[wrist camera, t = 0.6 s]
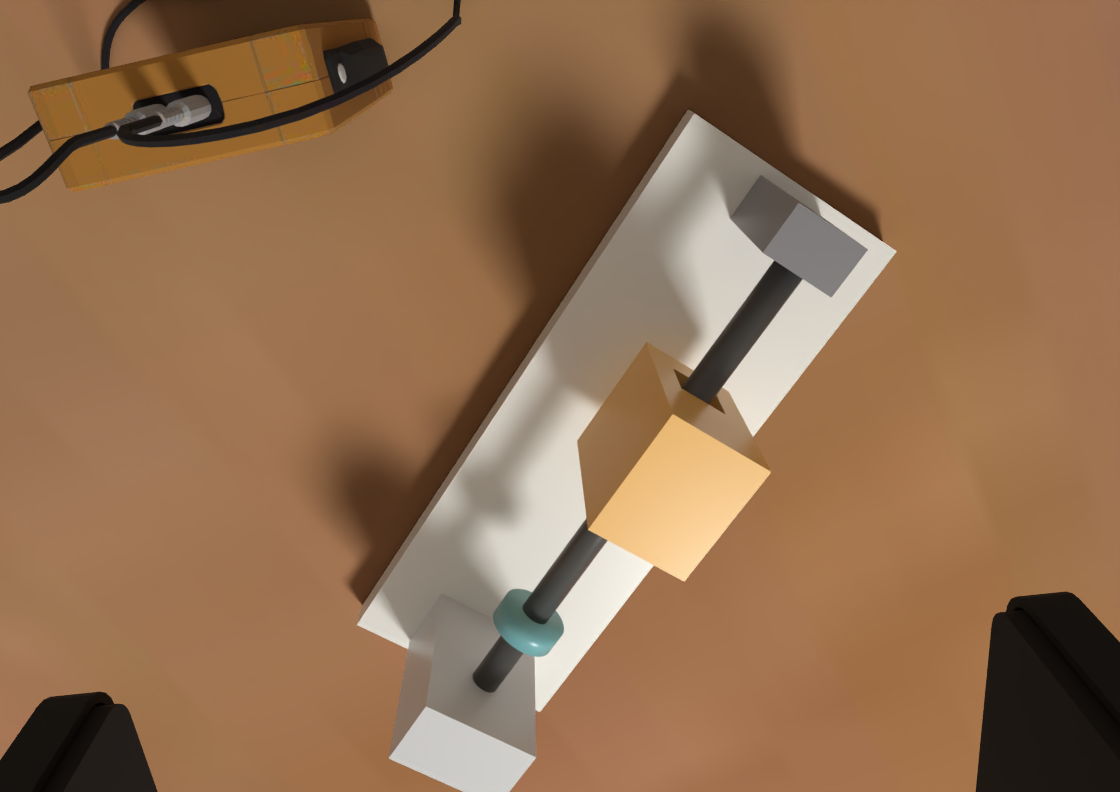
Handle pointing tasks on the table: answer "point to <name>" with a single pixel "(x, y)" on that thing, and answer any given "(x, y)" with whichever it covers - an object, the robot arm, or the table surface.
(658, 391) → the sleeve
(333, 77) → the multimeter
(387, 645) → the table surface
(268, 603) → the table surface
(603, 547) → the board
